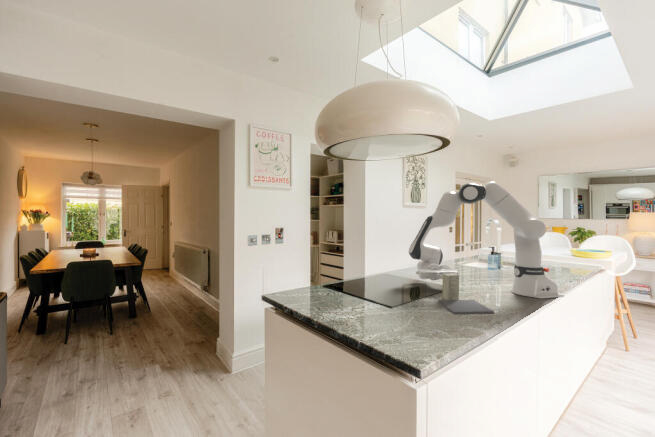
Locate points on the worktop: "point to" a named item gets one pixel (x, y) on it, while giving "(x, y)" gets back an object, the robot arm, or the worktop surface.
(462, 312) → the mat
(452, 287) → the skincare box
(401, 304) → the worktop surface
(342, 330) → the worktop surface
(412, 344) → the worktop surface
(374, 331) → the worktop surface
